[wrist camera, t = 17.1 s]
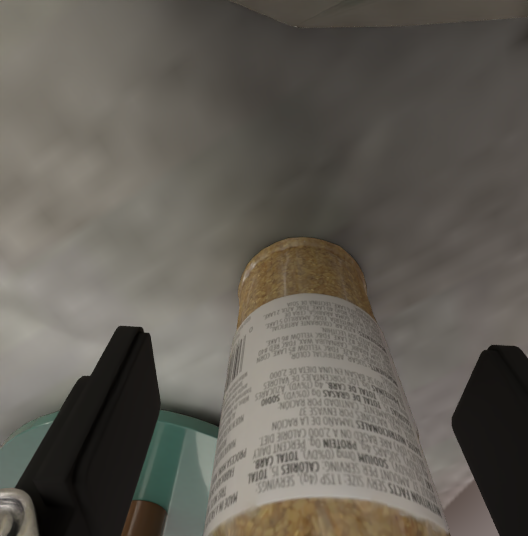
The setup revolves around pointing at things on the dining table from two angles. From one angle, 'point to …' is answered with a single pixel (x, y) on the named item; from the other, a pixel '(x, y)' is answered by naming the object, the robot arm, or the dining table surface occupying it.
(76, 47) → the dining table surface
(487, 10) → the canister
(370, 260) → the dining table surface
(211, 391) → the dining table surface
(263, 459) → the sprinkles bottle
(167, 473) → the lid
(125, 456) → the robot arm
